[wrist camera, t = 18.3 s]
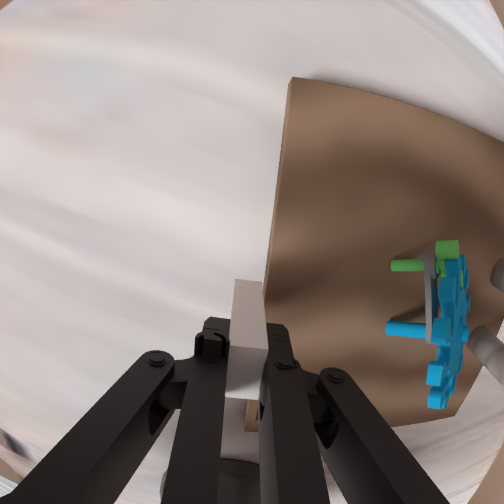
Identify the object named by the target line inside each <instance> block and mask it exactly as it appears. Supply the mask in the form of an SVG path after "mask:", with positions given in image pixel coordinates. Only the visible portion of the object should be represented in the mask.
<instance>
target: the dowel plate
mask: <svg viewBox="0 0 504 504" xmlns="http://www.w3.org/2000/svg"><path fill="white" fill-rule="evenodd" d="M447 240H458V242H459V254H465V257H466V270H468V269H469V281H470V283H469V288H467V292H466V296H470V312H469V313H467V314H466V324H467V326H470V331H469V338H468V342H466V343H464V346H463V356H464V358H463V364H462V368H461V371H460V373H458V374H457V382H456V388H455V391H454V394H453V395H452V396H449V401H448V405H447V408H446V409H442V408H441V409H434V408H428V405H427V401H428V395H429V392H430V389H431V388H432V387H433V386H434V385H427V384H426V380H427V372H428V367H429V363H430V361H436V360H437V356H438V347H437V344H427V343H426V339H422V338H411V337H401V336H391V335H386V332H385V328H386V324H387V322H388V321H402V322H415V323H426V305H425V282H424V271H392V270H391V261H392V260H410V259H424V255H425V253H426V252H432V251H435V245H436V241H447ZM440 280H441V273H440V274H439V277H438V279H437V293H438V287H439V283H440ZM263 299H264V309H265V319H266V323H276V324H283V325H284V326H285V327H286V328H287V329H288V332H289V337H290V342H291V346H292V350H293V355H294V358H295V359H296V360H297V361H299V363H300V365H301V368H302V369H303V370H305V371H308V372H311V373H315V374H320V371H322V370H323V369H325V368H328V367H335V368H339V369H342V370H344V371H346V372H347V373H348V374H349V375H350V376H351V377H352V379H353V380H354V381H355V382H356V384H357V385H358V386H359V388H360V389H361V390H362V391H363V393H364V394H365V395H366V397H367V398H368V399H369V400H370V402H371V403H372V404H373V405H374V407H375V408H376V409H377V411H378V412H379V413H380V414H381V416H382V417H383V418H384V420H385V421H386V422H387V423H388V425H389V426H390V427H396V426H403V425H410V424H416V423H422V422H428V421H433V420H438V419H443V418H448V417H452V416H455V414H456V413H457V411H458V409H459V408H460V406H461V404H462V403H463V401H464V399H465V398H466V396H467V394H468V392H469V391H470V389H471V387H472V385H473V383H474V381H475V380H476V378H477V376H478V374H479V372H480V370H481V368H482V366H483V365H484V366H485V367H486V368H487V369H488V370H489V371H490V373H491V374H492V375H493V376H494V377H495V378H496V379H497V380H498V381H499V383H500V384H501V385H502V386H503V387H504V344H503V343H502V342H501V341H500V340H499V339H498V338H497V337H496V336H497V333H498V331H499V329H500V326H501V324H502V321H503V319H504V143H503V142H501V141H499V140H497V139H495V138H493V137H491V136H489V135H486V134H484V133H482V132H480V131H478V130H475V129H473V128H471V127H468V126H466V125H464V124H461V123H459V122H457V121H454V120H452V119H449V118H446V117H444V116H441V115H439V114H436V113H433V112H430V111H428V110H425V109H422V108H419V107H416V106H413V105H410V104H407V103H404V102H400V101H397V100H394V99H390V98H387V97H383V96H380V95H376V94H373V93H369V92H365V91H361V90H357V89H353V88H348V87H344V86H340V85H335V84H330V83H325V82H320V81H315V80H309V79H304V78H298V77H292V79H291V81H290V83H289V84H288V93H287V102H286V110H285V119H284V128H283V136H282V145H281V153H280V161H279V170H278V178H277V186H276V194H275V202H274V210H273V217H272V225H271V233H270V241H269V248H268V256H267V263H266V271H265V278H264V285H263ZM438 318H441V305H440V301H439V298H438ZM259 401H260V393H259V398H258V400H252V399H247V403H246V410H245V431H248V432H259V428H258V420H255V419H256V415H257V410H258V406H259Z"/></svg>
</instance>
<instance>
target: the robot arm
mask: <svg viewBox="0 0 504 504" xmlns="http://www.w3.org/2000/svg"><path fill="white" fill-rule="evenodd" d="M259 393H260V401H259V406H258V410H257V415H256V419H255V420H258V428H259V459H260V465H256V464H252V463H248V462H242V461H236V460H225V459H220V453H221V440H222V427H223V415H224V402H225V397H231V398H241V399H252V400H258V398H259ZM175 409H181V412H180V416H179V421H178V425H177V429H176V434H175V438H174V443H173V447H172V452H171V456H170V461H169V466H168V469H167V470H166V471H165V473H164V474H163V477H162V482H161V487H160V497H161V504H330V500H329V495H328V490H327V485H326V480H325V475H324V470H323V465H322V461H321V456H322V457H323V459H324V461H325V463H326V465H327V467H328V469H329V470H330V472H331V474H332V476H333V478H334V480H335V481H336V483H337V485H338V487H339V489H340V490H341V492H342V494H343V496H344V498H345V499H346V501H347V503H348V504H450V503H449V502H448V500H447V499H446V498H445V496H444V495H443V494H442V493H441V491H440V490H439V489H438V488H437V486H436V485H435V484H434V482H433V481H432V480H431V479H430V477H429V476H428V475H427V473H426V472H425V471H424V470H423V468H422V467H421V466H420V464H419V463H418V462H417V461H416V459H415V458H414V457H413V455H412V454H411V453H410V452H409V450H408V449H407V448H406V446H405V445H404V444H403V443H402V441H401V440H400V439H399V437H398V436H397V435H396V434H395V432H394V431H393V430H392V429H391V427H390V426H389V425H388V423H387V422H386V421H385V420H384V418H383V417H382V416H381V414H380V413H379V412H378V411H377V409H376V408H375V407H374V405H373V404H372V403H371V402H370V400H369V399H368V398H367V397H366V395H365V394H364V393H363V391H362V390H361V389H360V388H359V386H358V385H357V384H356V382H355V381H354V380H353V379H352V377H351V376H350V375H349V374H348V373H347V372H346V371H344V370H342V369H339V368H335V367H328V368H325V369H323V370H322V371H320V374H315V373H311V372H308V371H305V370H303V369H302V368H301V365H300V363H299V361H297V360H296V359H295V358H294V355H293V350H292V346H291V342H290V337H289V332H288V329H287V328H286V327H285V326H284V325H283V324H276V323H266V319H265V309H264V299H263V289H262V282H257V281H248V280H240V279H235V284H234V292H233V301H232V309H231V317H230V319H224V318H216V317H209V318H208V319H207V320H206V321H205V322H204V326H203V330H202V332H200V333H198V334H197V335H196V337H195V349H194V356H193V357H191V358H188V359H184V360H174V358H173V357H172V356H171V355H170V354H169V353H167V352H165V351H160V350H153V351H149V352H146V353H144V354H143V355H142V356H141V357H140V358H139V359H138V360H137V361H136V362H135V363H134V364H133V365H132V366H131V367H130V368H129V369H128V370H127V371H126V372H125V373H124V374H123V375H122V376H121V377H120V378H119V380H118V381H117V382H116V383H115V384H114V385H113V386H112V387H111V388H110V389H109V390H108V391H107V392H106V393H105V394H104V395H103V396H102V397H101V398H100V399H99V400H98V401H97V402H96V403H95V405H94V406H93V407H92V408H91V409H90V410H89V411H88V412H87V413H86V414H85V415H84V416H83V417H82V418H81V419H80V420H79V421H78V422H77V423H76V424H75V425H74V427H73V428H72V429H71V430H70V431H69V432H68V433H67V434H66V435H65V436H64V437H63V438H62V439H61V440H60V441H59V442H58V443H57V444H56V445H55V447H54V448H53V449H52V450H51V451H50V452H49V453H48V454H47V455H46V456H45V457H44V458H43V459H42V460H41V461H40V462H39V463H38V465H37V466H36V467H35V468H34V469H33V470H32V471H31V472H30V473H29V474H28V475H27V476H26V477H25V478H24V479H23V480H22V482H21V483H20V484H19V485H18V486H17V487H16V488H15V489H14V490H13V491H12V492H11V493H9V494H7V495H5V496H2V497H0V504H114V502H115V501H116V500H117V498H118V497H119V495H120V494H121V492H122V491H123V489H124V488H125V486H126V485H127V483H128V482H129V480H130V479H131V477H132V476H133V474H134V473H135V471H136V470H137V468H138V467H139V465H140V464H141V462H142V461H143V459H144V458H145V456H146V455H147V453H148V452H149V450H150V449H151V447H152V446H153V444H154V443H155V441H156V439H157V438H158V436H159V435H160V433H161V432H162V430H163V429H164V427H165V426H166V424H167V423H168V421H169V420H170V418H171V416H172V415H173V413H174V411H175ZM320 454H321V456H320Z"/></svg>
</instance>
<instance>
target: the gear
mask: <svg viewBox="0 0 504 504" xmlns="http://www.w3.org/2000/svg"><path fill="white" fill-rule="evenodd" d="M391 270H392V271H424V282H425V305H426V323H415V322H402V321H388V322H387V324H386V328H385V332H386V335H391V336H401V337H411V338H422V339H426V343H427V344H437V347H438V356H437V360H436V361H430V363H429V367H428V372H427V380H426V384H427V385H434V386H433V387H432V388H431V389H430V392H429V395H428V401H427V405H428V408H434V409H441V408H442V409H446V408H447V405H448V401H449V396H452V395H453V394H454V391H455V388H456V382H457V374H458V373H460V371H461V368H462V364H463V358H464V356H463V346H464V343H466V342H468V338H469V331H470V326H467V324H466V314H467V313H469V312H470V296H466V292H467V288H469V283H470V281H469V269H468V270H466V257H465V254H459V242H458V240H447V241H436V245H435V251H432V252H426V253H425V255H424V259H410V260H392V261H391ZM440 273H441V280H440V283H439V287H438V293H437V279H438V277H439V274H440ZM438 298H439V301H440V305H441V318H438Z"/></svg>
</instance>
